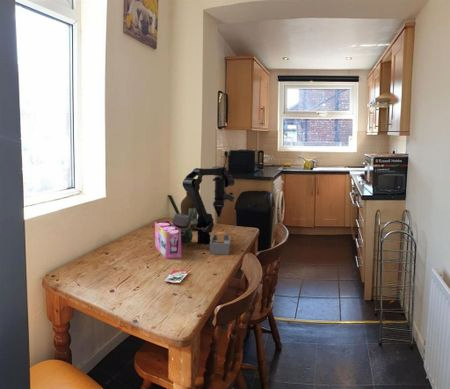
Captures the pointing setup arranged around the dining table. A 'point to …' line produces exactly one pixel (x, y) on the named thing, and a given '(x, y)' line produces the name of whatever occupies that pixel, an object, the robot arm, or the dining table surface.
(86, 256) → the dining table surface
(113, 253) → the dining table surface
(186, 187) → the robot arm
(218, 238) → the peg
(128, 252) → the dining table surface
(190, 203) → the olive oil
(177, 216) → the coffee jar
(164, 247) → the gum box
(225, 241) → the tray
